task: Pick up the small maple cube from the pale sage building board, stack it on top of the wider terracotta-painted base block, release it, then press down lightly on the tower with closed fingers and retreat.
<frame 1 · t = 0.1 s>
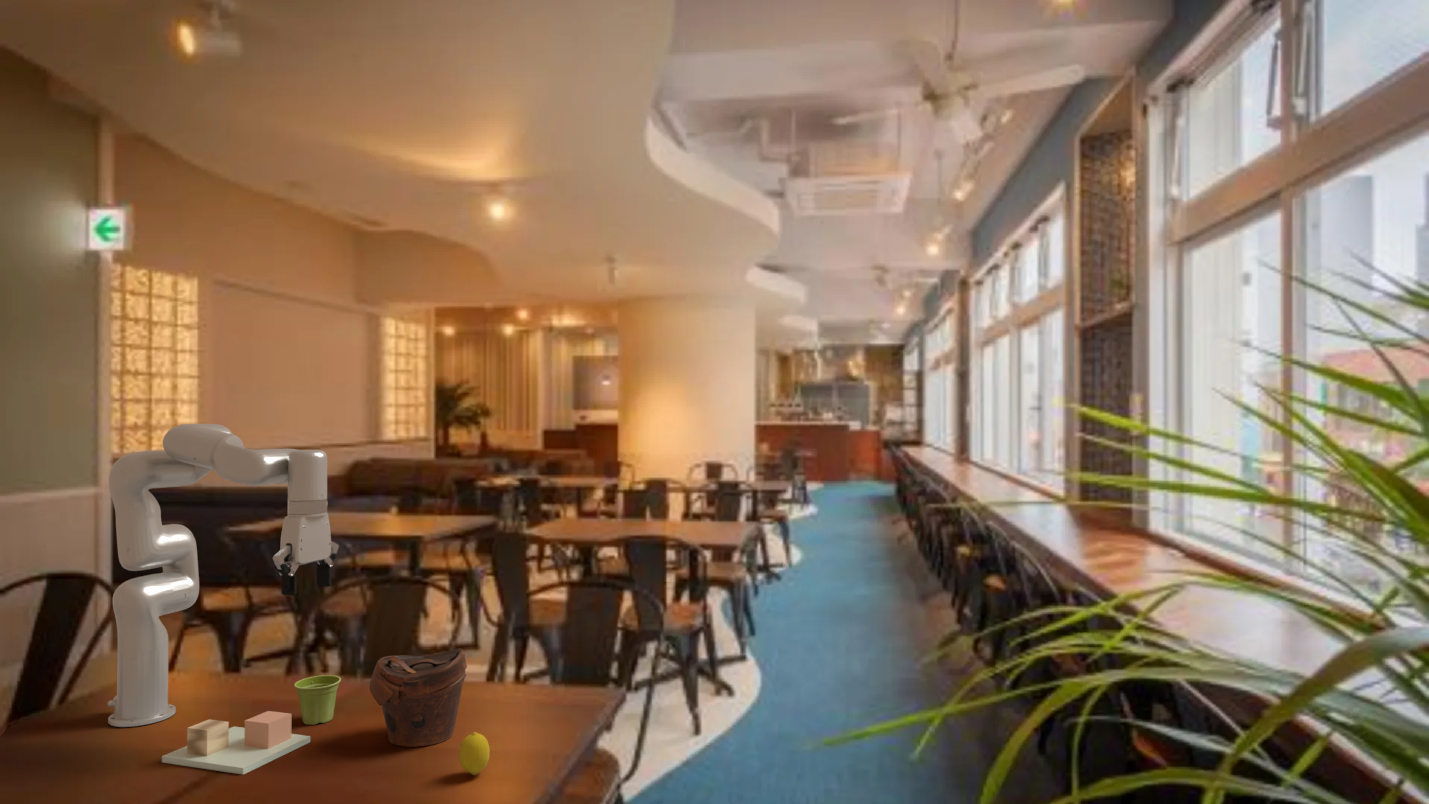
hand: (306, 590, 179), 31 cm above the table, tool pointing down, fingers open, 9 cm apart
base block: (268, 741, 174), point 1 cm above the table, touching building board
building board: (238, 751, 172), on the table
plant pot: (317, 721, 190), on the table
lemon: (474, 776, 160), on the table
maple cube: (207, 750, 170), point 1 cm above the table, touching building board
case: (419, 738, 180), on the table
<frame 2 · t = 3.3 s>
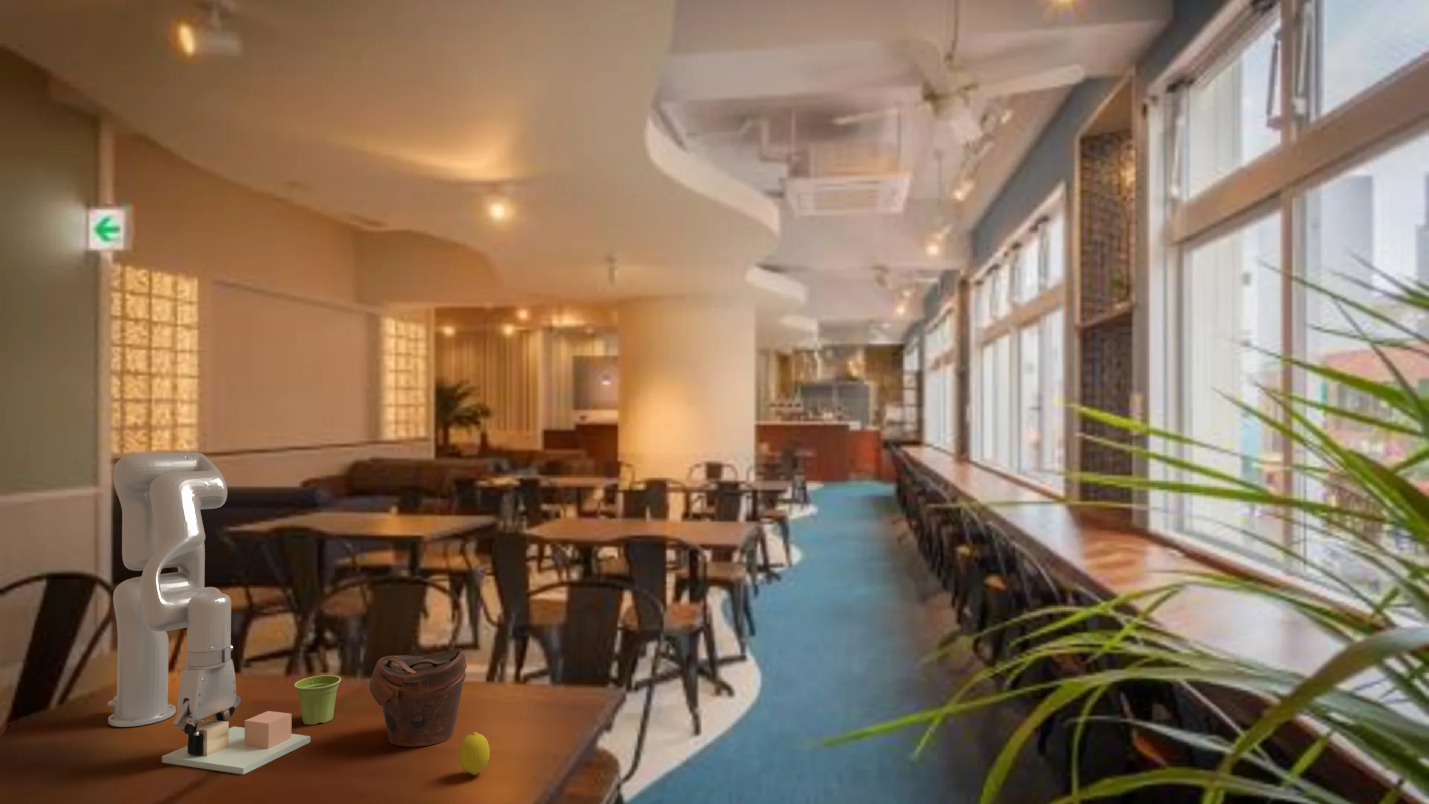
hand: (208, 748, 170), 2 cm above the table, tool pointing down, fingers closed on maple cube, 5 cm apart
maple cube: (207, 750, 170), point 1 cm above the table, touching building board, gripper
everything else where it was.
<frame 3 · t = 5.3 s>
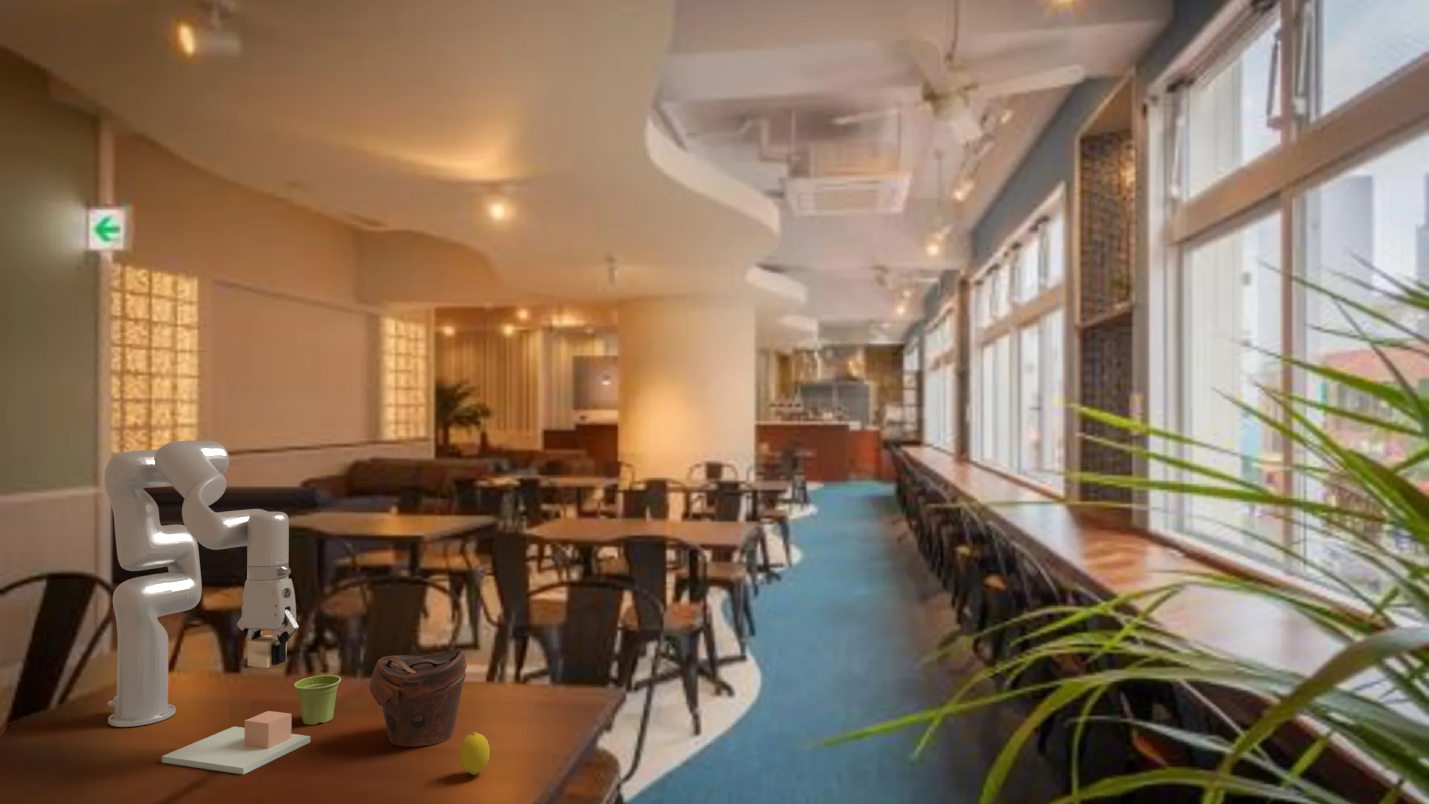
hand: (267, 661, 174), 18 cm above the table, tool pointing down, fingers closed on maple cube, 5 cm apart
maple cube: (267, 663, 174), point 17 cm above the table, touching gripper
everything else where it was.
when the fingers open (7 cm above the table, at t = 7.5 s): maple cube stays where it is, resting on base block.
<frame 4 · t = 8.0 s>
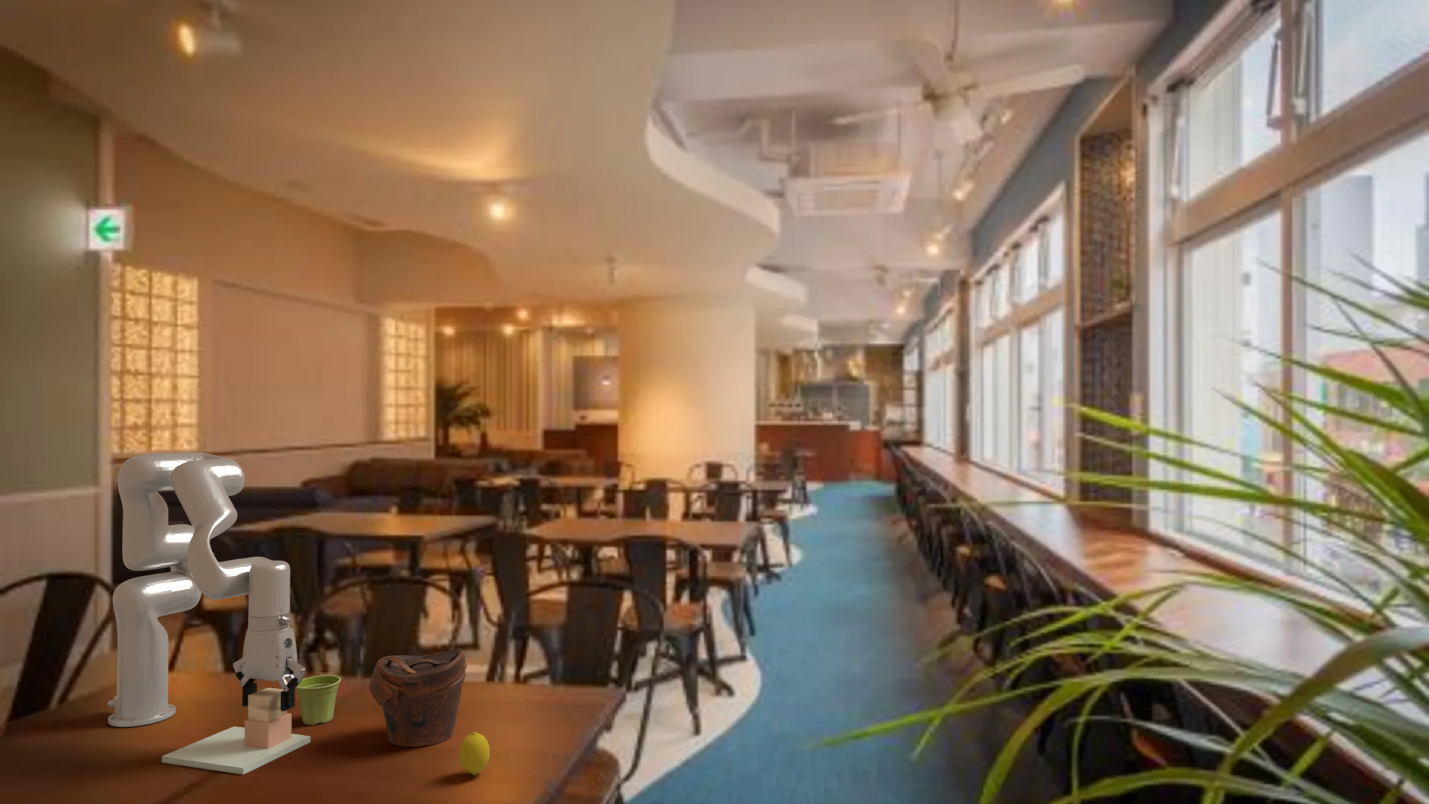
hand: (268, 706, 174), 8 cm above the table, tool pointing down, fingers open, 9 cm apart
base block: (268, 741, 174), point 1 cm above the table, touching building board, maple cube
maple cube: (267, 717, 174), point 6 cm above the table, touching base block
everything else where it was.
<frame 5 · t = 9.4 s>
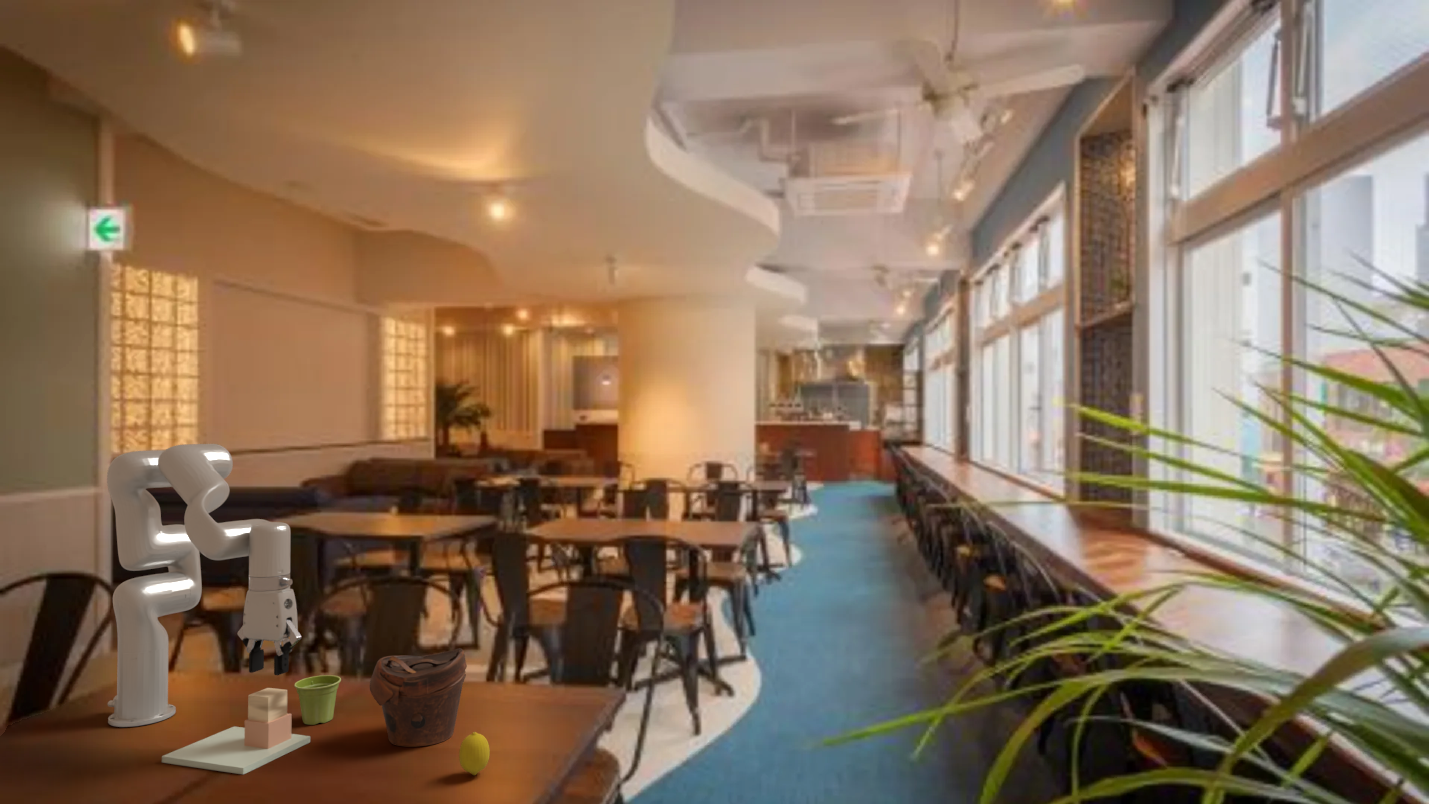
hand: (268, 671, 174), 15 cm above the table, tool pointing down, fingers open, 5 cm apart
nothing on the table moved.
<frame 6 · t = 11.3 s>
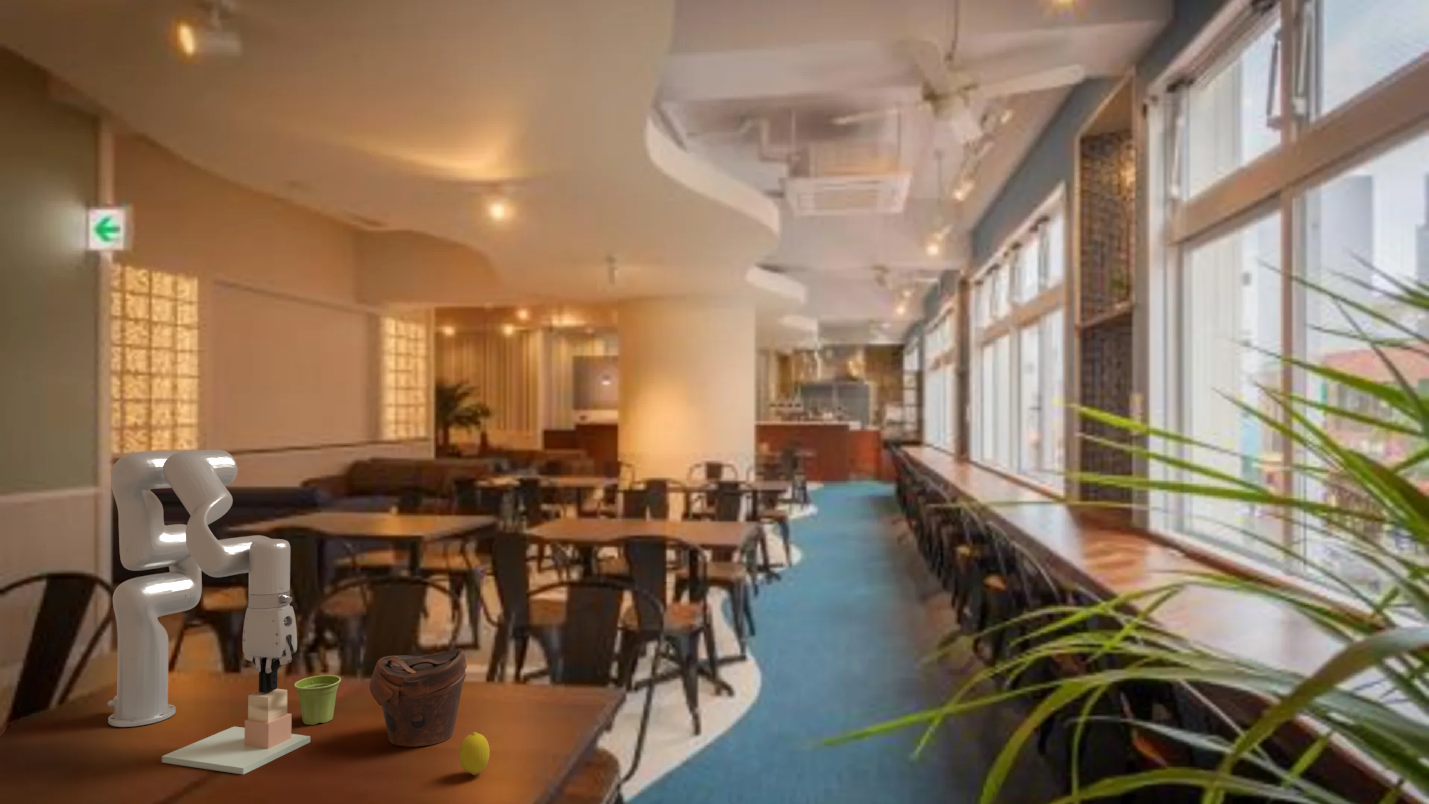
hand: (268, 690, 174), 12 cm above the table, tool pointing down, fingers closed
nothing on the table moved.
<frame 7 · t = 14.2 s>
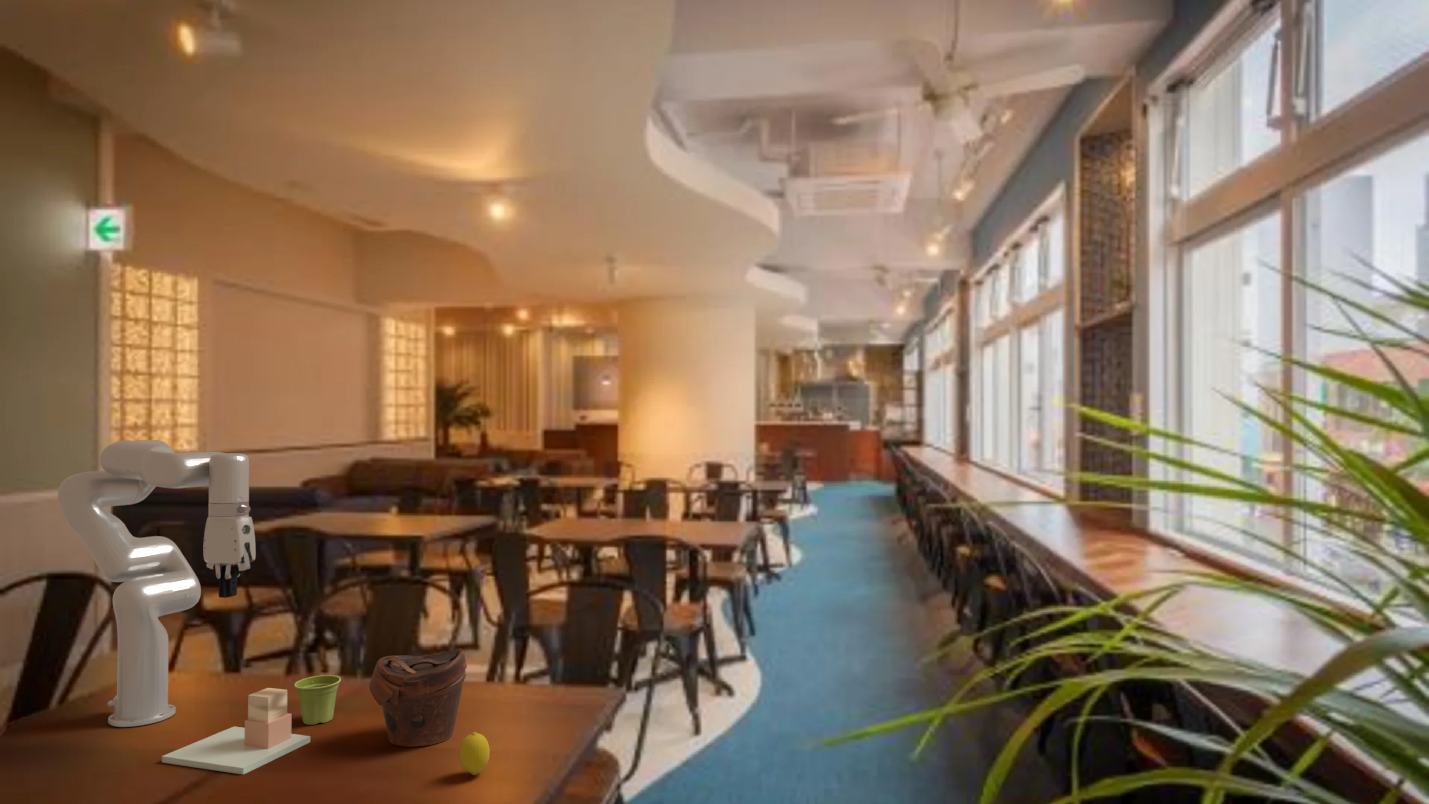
hand: (227, 596, 183), 29 cm above the table, tool pointing down, fingers closed
nothing on the table moved.
at the end: maple cube 0.1 cm off-centre on the base block, point 5.0 cm above the base block's base; maple cube tilted 0°; base block moved 0.0 cm from its start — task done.
